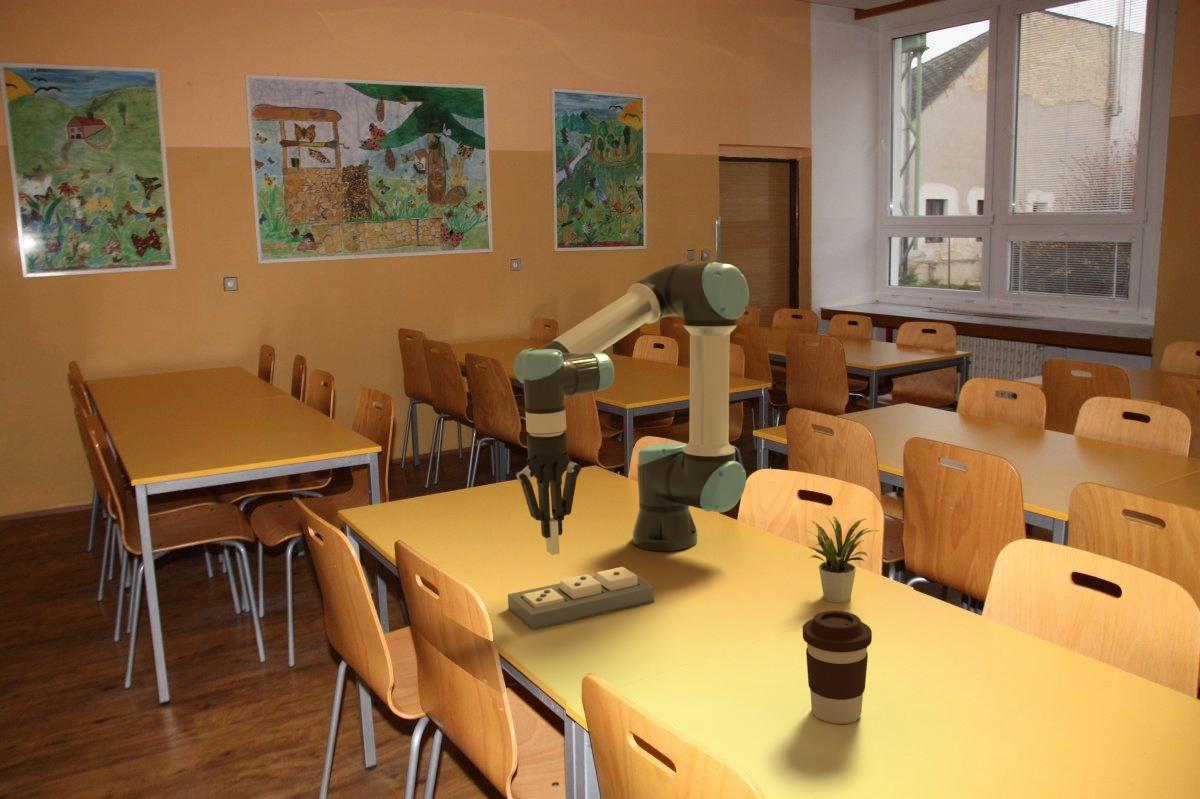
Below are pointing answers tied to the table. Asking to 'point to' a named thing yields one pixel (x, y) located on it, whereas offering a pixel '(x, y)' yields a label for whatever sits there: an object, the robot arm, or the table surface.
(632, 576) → the key one
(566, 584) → the key two
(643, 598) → the keypad
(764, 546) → the table surface
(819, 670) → the coffee cup
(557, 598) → the key three
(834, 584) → the house plant
